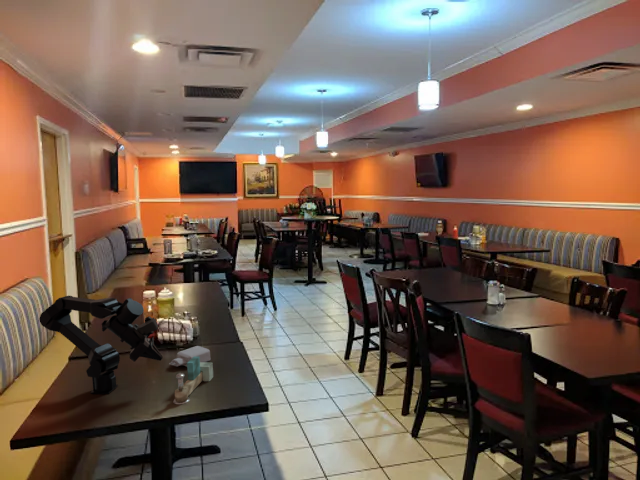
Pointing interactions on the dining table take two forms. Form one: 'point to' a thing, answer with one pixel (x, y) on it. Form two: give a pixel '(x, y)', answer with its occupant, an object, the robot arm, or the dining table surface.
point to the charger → (191, 356)
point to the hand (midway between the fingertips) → (161, 358)
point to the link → (190, 380)
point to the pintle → (180, 387)
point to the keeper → (206, 370)
